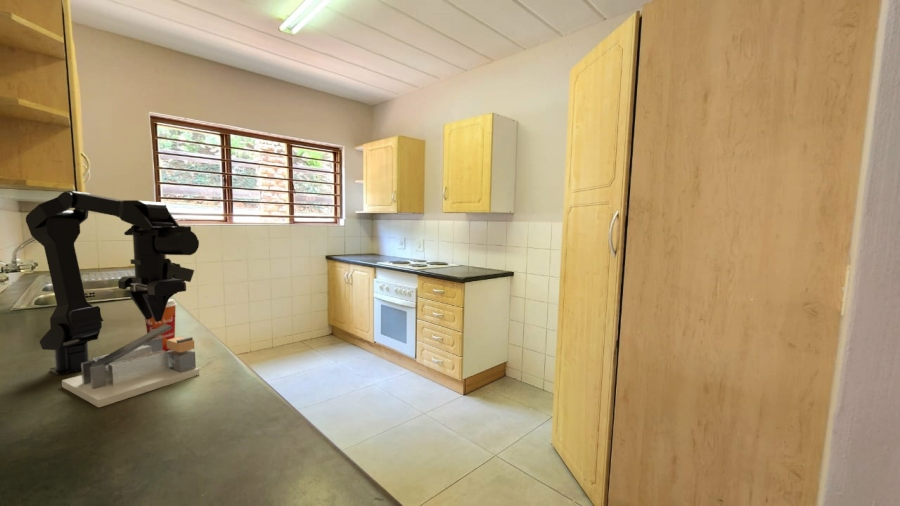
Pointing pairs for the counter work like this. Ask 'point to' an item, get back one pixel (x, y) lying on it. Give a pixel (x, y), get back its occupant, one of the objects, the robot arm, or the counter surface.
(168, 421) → the counter surface
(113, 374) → the grey piece
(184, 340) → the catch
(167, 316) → the paper cup
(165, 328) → the grey lever
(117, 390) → the board
